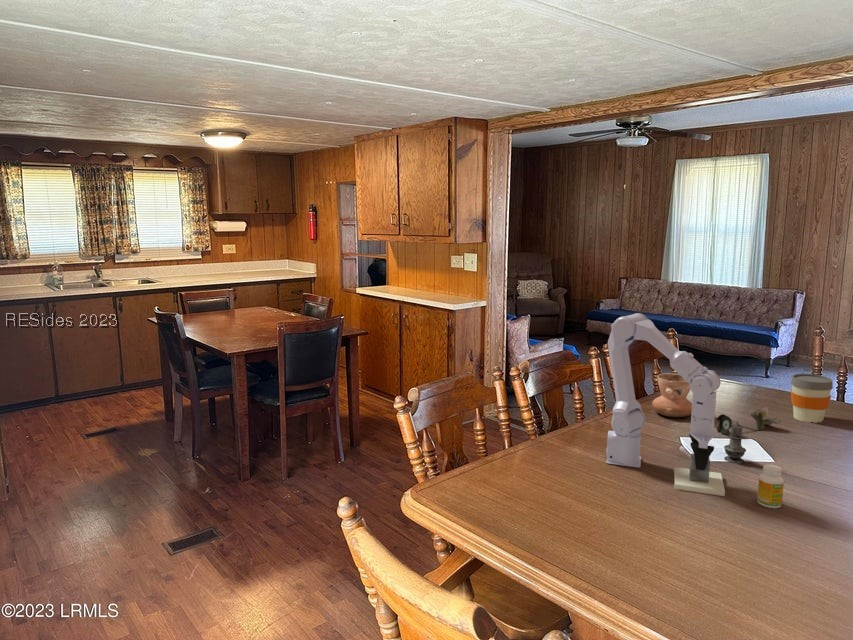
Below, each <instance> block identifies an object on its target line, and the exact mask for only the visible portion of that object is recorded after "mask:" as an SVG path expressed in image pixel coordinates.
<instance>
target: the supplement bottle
mask: <svg viewBox="0 0 853 640" xmlns="http://www.w3.org/2000/svg"><path fill="white" fill-rule="evenodd" d="M782 471H783V470H782V468H781V467H780V466H777V465H776V464H763V467H762V472H761V473H760V474H759V476H758V477H759V478H758V486H757V500H756V501H757V503H758V504H759V505H761V506H763V507H766V508H769V509H778V508H781V507H782V504H783V494H784V485H785V484H784V483H785V480H784V477H783V476H781V475H782Z"/></svg>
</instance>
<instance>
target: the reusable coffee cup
mask: <svg viewBox="0 0 853 640" xmlns="http://www.w3.org/2000/svg"><path fill="white" fill-rule="evenodd" d="M790 384H791V390H790V396H791V397H790V400H791V404H792V411H793V418H794V419H795V420H798V421H801V422H804V421H805V422H804V423H810V422H813V423H812V424H818V422H820V423H823V422H822V421H824V418H825V414H826V410H827V409H828V408H829V405H830V402H831V396H832V395H831V391H832V390H834V389H833V388H834V387H833V379H832V378H830V377H827V376H824V375H819V374H812V373H795V374H793V375H792V376H791V380H790Z"/></svg>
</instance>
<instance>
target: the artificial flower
mask: <svg viewBox="0 0 853 640" xmlns="http://www.w3.org/2000/svg"><path fill="white" fill-rule="evenodd" d="M748 412H749V413H750V416H751V417H752V418H753V419H754V420H755V424H756V426H757V427H756V428H757V429H756V428H751V427H747V426H744V425H741V426H742V429H743V428H744V429H747V430H750V431H754V432H759V431H760V430H762V429H763V428H764V427H765V425H767V426H771V425H773V424H774V425H777V424H780V423H781V422H782V420H781V419H780V418H779V419H778V418H777V417H769V418H767V417H768V415H769V408H768V407H767V406H765V407H762V408H760V409H757V410H756V409H751V410H749V411H748ZM716 420H717V421H718V424H717V425H718V426H716V429H715V430H717V431H716V432H717V433H718V434H720V433H721V434H723V435H728V434H729V433H731V430H730V429H731V426H732V425H733V421H732V419H731V417H730V416H727V415H726V414H720V415H718V417H717V418H716Z"/></svg>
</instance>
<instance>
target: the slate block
mask: <svg viewBox="0 0 853 640" xmlns="http://www.w3.org/2000/svg"><path fill="white" fill-rule="evenodd" d="M710 468H711V459H710V458H709V459H708V462H707V465H706V468H705V470H697V469H696V466H695V457H694V453H690V460H689V469H690V471H689V475H690V481H697V482H704V483H709V472H711V471H710V470H711V469H710Z"/></svg>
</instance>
